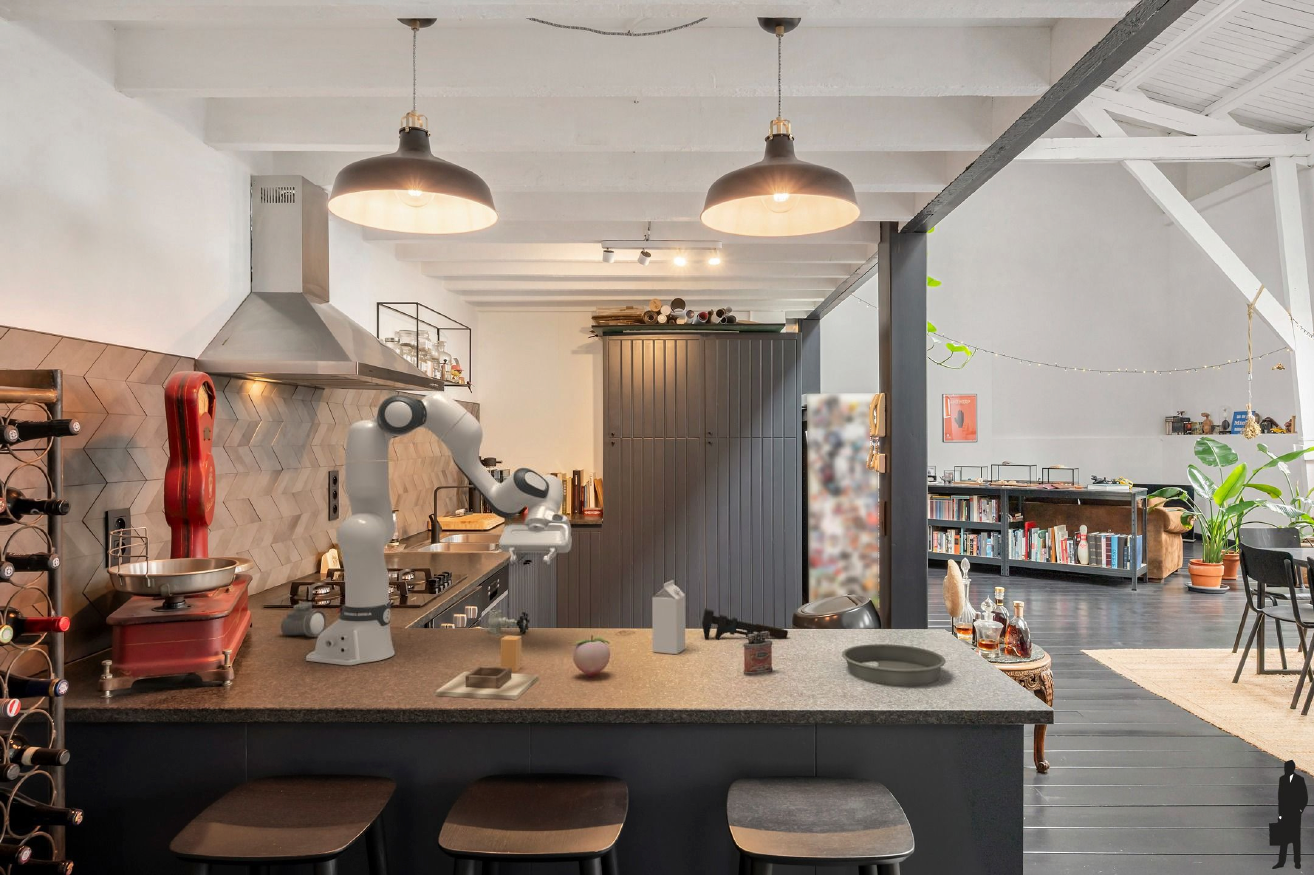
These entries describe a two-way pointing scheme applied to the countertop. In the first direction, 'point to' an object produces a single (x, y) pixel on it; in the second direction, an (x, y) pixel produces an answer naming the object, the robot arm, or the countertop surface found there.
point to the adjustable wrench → (736, 626)
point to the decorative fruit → (591, 655)
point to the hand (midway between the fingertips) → (529, 562)
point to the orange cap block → (511, 652)
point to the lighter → (757, 654)
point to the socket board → (488, 684)
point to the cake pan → (894, 664)
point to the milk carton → (669, 619)
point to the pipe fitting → (304, 621)
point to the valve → (507, 622)
